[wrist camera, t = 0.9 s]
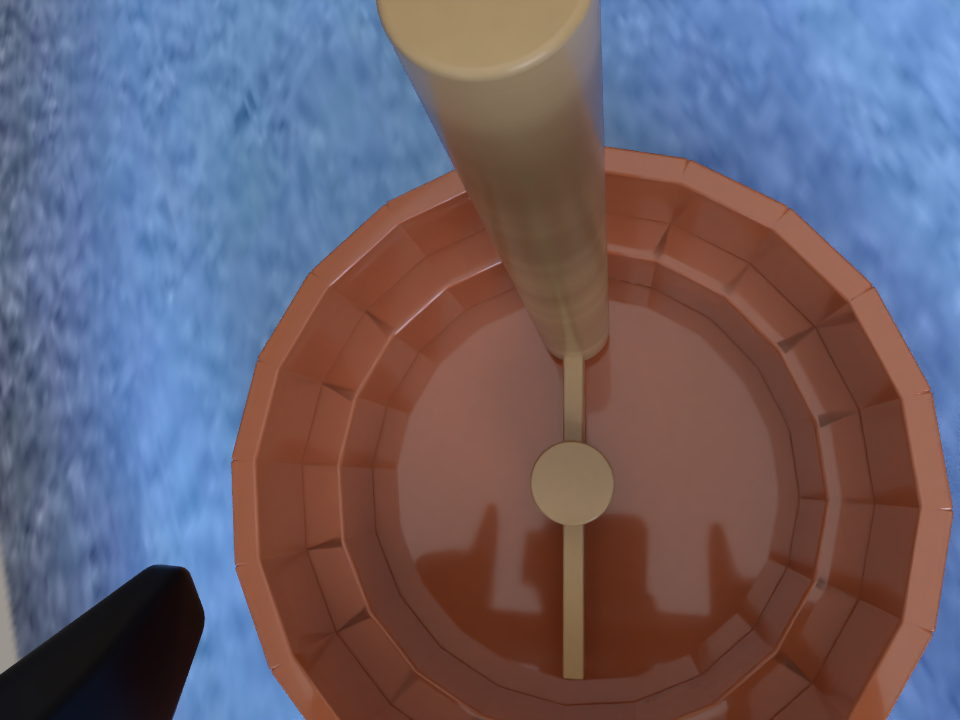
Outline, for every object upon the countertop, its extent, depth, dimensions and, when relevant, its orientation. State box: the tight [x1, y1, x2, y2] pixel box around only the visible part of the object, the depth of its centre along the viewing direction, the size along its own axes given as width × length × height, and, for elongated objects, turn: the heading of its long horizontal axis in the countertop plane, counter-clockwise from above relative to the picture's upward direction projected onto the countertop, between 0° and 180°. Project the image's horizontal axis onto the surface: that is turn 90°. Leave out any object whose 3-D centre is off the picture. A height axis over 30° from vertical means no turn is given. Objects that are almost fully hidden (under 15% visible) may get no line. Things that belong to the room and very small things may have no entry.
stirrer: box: [376, 0, 615, 680], centre depth 13 cm, size 10×2×15 cm, turn 179°
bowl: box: [231, 146, 953, 720], centre depth 19 cm, size 14×14×6 cm
